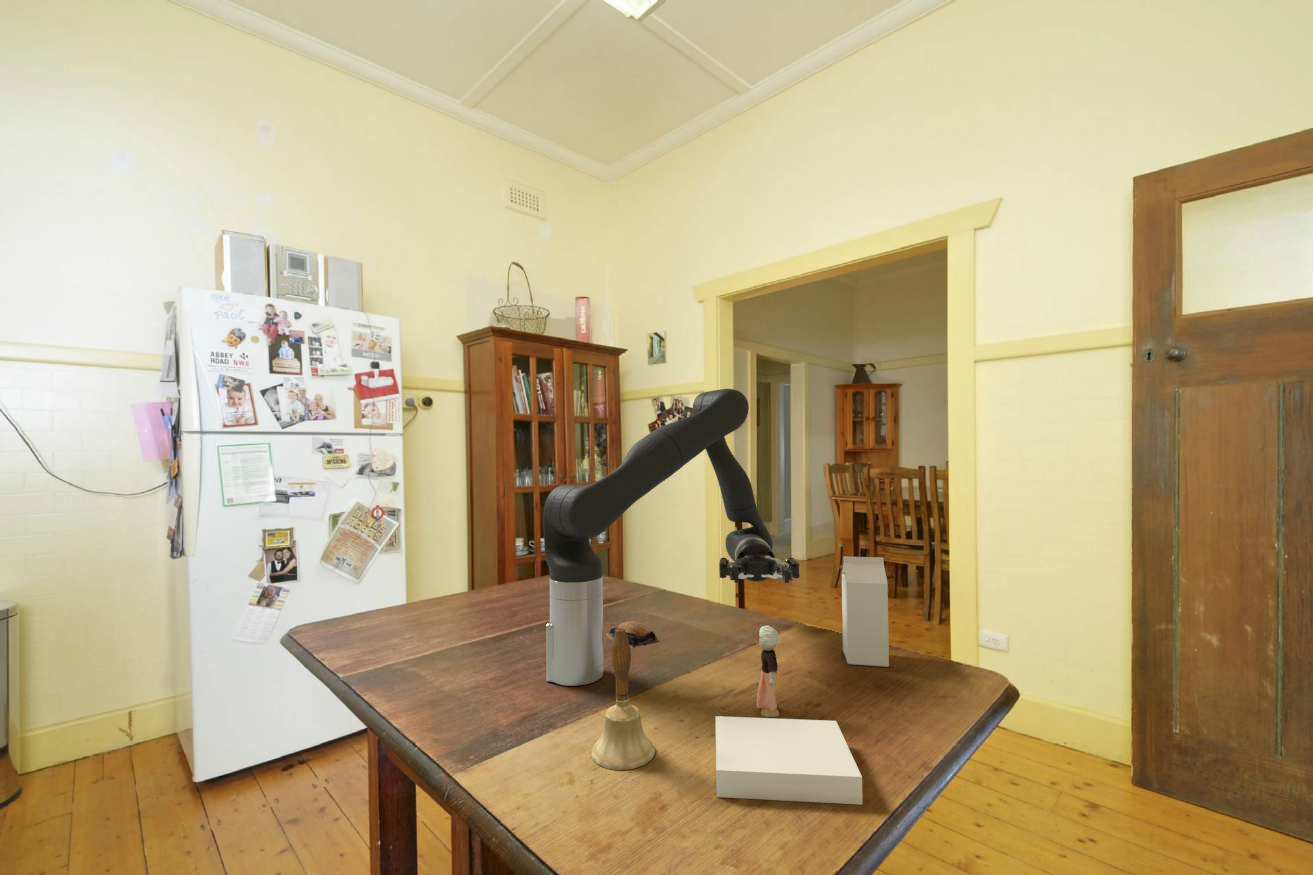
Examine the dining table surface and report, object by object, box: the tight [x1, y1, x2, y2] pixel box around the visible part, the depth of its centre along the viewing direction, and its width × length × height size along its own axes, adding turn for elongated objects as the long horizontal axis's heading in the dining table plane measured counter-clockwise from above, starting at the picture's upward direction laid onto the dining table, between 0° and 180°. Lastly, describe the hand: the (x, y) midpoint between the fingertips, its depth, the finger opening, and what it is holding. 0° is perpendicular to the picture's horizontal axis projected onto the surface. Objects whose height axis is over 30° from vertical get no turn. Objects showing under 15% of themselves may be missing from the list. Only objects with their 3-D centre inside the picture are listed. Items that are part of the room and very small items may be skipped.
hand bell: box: [590, 627, 656, 771], centre depth 73 cm, size 8×8×16 cm
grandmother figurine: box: [755, 625, 782, 718], centre depth 84 cm, size 8×4×13 cm, turn 5°
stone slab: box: [715, 715, 864, 805], centre depth 69 cm, size 16×13×3 cm
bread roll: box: [605, 620, 659, 649], centre depth 118 cm, size 11×8×4 cm
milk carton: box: [841, 555, 890, 668], centre depth 105 cm, size 7×7×19 cm
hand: (761, 577), depth 96 cm, fingers open, 8 cm apart
